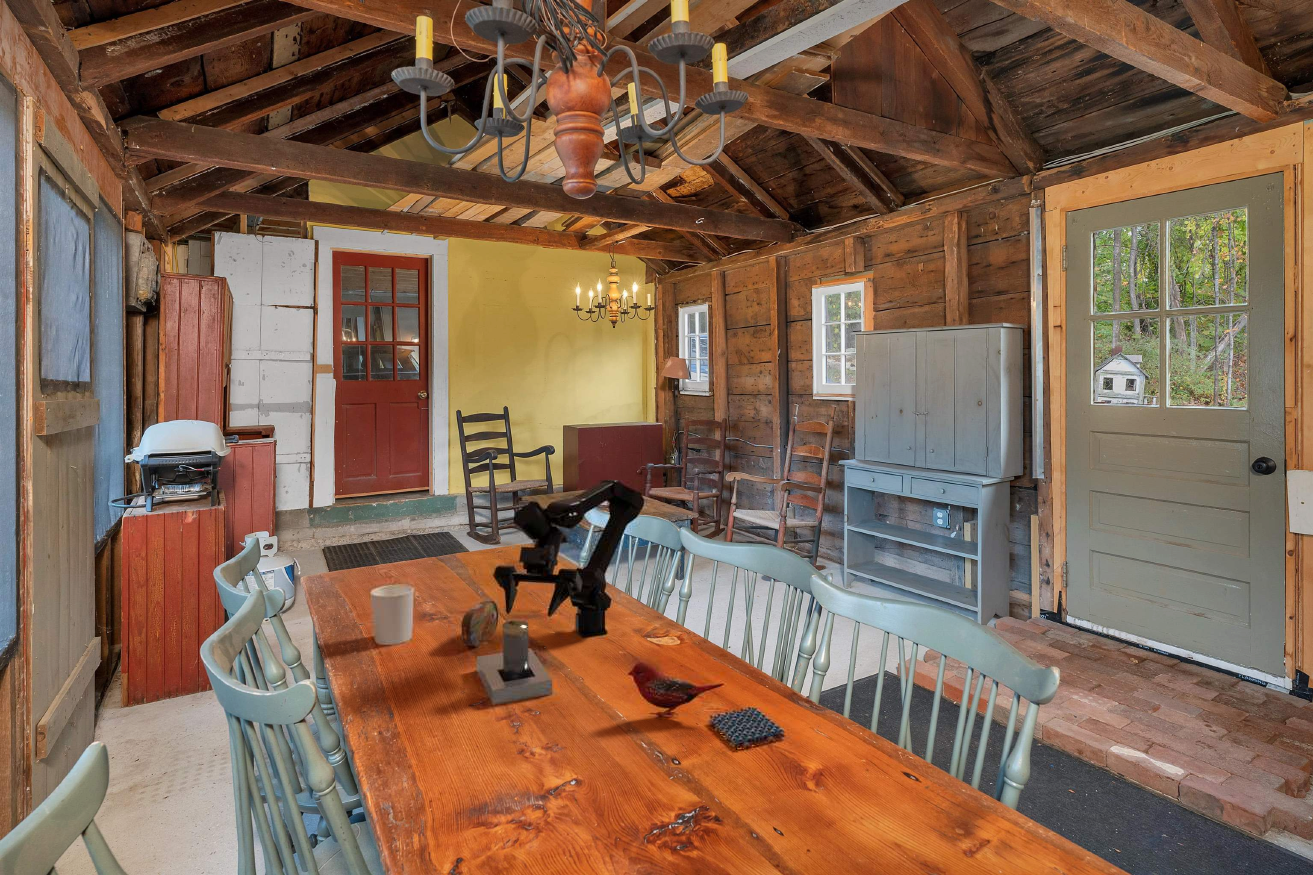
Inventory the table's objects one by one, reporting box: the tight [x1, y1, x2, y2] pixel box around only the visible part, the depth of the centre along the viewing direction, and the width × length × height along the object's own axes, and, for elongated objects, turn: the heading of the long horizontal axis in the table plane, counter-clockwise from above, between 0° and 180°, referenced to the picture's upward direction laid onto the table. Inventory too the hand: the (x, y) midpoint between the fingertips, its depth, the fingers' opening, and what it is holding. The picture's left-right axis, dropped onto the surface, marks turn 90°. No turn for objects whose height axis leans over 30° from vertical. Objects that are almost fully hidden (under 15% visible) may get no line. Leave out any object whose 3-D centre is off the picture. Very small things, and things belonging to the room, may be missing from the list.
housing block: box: [476, 647, 554, 706], centre depth 139 cm, size 12×18×3 cm, turn 24°
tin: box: [460, 600, 499, 647], centre depth 163 cm, size 15×3×8 cm, turn 168°
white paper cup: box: [369, 584, 415, 646], centre depth 163 cm, size 10×10×12 cm
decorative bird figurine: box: [627, 662, 725, 717], centre depth 124 cm, size 3×18×10 cm, turn 88°
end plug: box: [501, 619, 529, 682], centre depth 136 cm, size 5×5×13 cm
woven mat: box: [707, 706, 787, 749], centre depth 119 cm, size 10×11×2 cm
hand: (528, 614), depth 143 cm, fingers open, 9 cm apart
